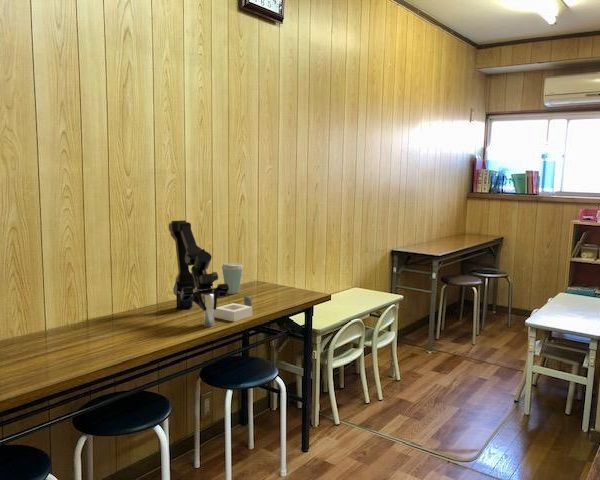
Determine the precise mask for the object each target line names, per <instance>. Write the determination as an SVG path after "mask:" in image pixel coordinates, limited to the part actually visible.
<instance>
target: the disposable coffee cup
mask: <svg viewBox="0 0 600 480" xmlns="http://www.w3.org/2000/svg"><path fill="white" fill-rule="evenodd" d="M243 269H244V267H243V265H242V263H241V264H240V263H232V262H227V263H226V262H225V263H222V265H221V270H222V275H223V284H225V283H226V284H228V286H229V290H228V292H227V293H228V294H229V295H235V293H237V294H239V293H240V289H241V281H242V276H243V275H242V274H243ZM238 292H239V293H238ZM228 294H227V295H228Z"/></svg>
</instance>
